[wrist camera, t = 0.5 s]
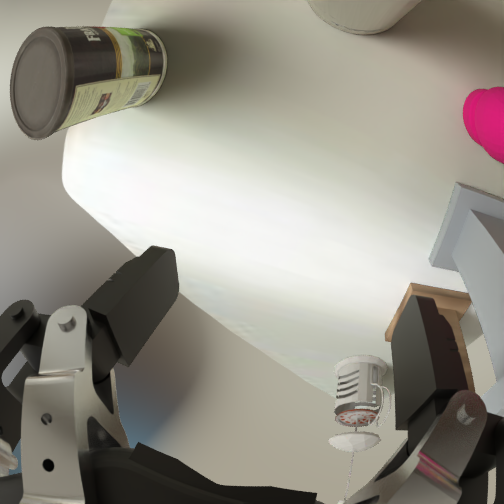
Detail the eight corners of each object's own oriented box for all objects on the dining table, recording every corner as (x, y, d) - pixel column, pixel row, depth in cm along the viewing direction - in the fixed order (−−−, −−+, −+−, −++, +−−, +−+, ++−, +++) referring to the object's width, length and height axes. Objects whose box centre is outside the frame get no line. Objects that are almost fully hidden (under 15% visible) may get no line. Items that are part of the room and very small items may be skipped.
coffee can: (113, 25, 22) (18, 28, 10) (180, 36, 22) (80, 26, 11) (94, 97, 28) (6, 127, 17) (153, 118, 28) (59, 155, 17)
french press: (322, 373, 46) (295, 505, 26) (364, 342, 39) (348, 504, 19) (362, 388, 46) (346, 510, 27) (405, 361, 39) (402, 504, 20)
